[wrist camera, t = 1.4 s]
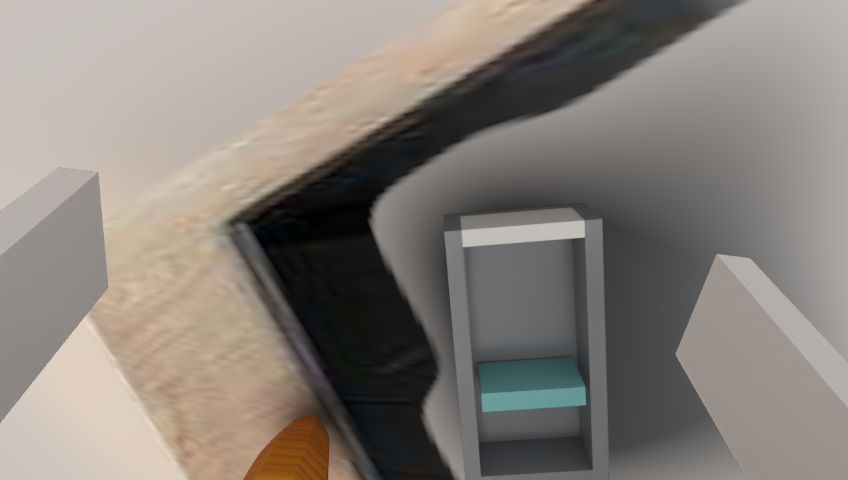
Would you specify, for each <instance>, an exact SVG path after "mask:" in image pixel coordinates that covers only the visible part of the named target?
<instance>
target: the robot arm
mask: <svg viewBox="0 0 848 480" xmlns="http://www.w3.org/2000/svg"><path fill="white" fill-rule="evenodd" d="M107 288H108V280H107V269H106V257H105V246H104V234H103V223H102V212H101V200H100V188H99V178H98V172H92V171H84V170H77V169H70V168H62V167H58V168H57V169H56V170H54V171H53V172H52V173H50V174H49V175H48V176H46V177H45V178H44V179H42V180H41V181H40V182H38V183H37V184H36V185H34V186H33V187H32V188H30V189H29V190H28V191H26V192H25V193H24V194H22V195H21V196H20V197H18V198H17V199H16V200H14V201H13V202H12V203H10V204H9V205H8V206H6V207H5V208H3V209H2V210H1V211H0V423H1V421H2V420H3V419H4V417H5V416H6V415H7V414H8V412H9V411H10V410H11V409H12V407H13V406H14V405H15V404H16V402H17V401H18V400H19V399H20V397H21V396H22V395H23V394H24V392H25V391H26V390H27V389H28V387H29V386H30V385H31V383H32V382H33V381H34V380H35V379H36V377H37V376H38V375H39V373H40V372H41V371H42V370H43V368H44V367H45V366H46V365H47V363H48V362H49V361H50V360H51V358H52V357H53V356H54V355H55V353H56V352H57V351H58V350H59V348H60V347H61V346H62V344H63V343H64V342H65V341H66V340H67V338H68V337H69V336H70V334H71V333H72V332H73V331H74V329H75V328H76V327H77V326H78V324H79V323H80V322H81V321H82V319H83V318H84V317H85V316H86V314H87V313H88V312H89V311H90V309H91V308H92V307H93V306H94V304H95V303H96V302H97V301H98V299H99V298H100V297H101V296H102V294H103V293H104V292H105V291H106V289H107ZM675 355H676V356H677V358H678V360H679V362H680V363H681V365H682V367H683V369H684V370H685V372H686V374H687V375H688V377H689V379H690V381H691V383H692V384H693V386H694V388H695V389H696V391H697V393H698V395H699V397H700V398H701V400H702V402H703V404H704V405H705V407H706V409H707V411H708V412H709V414H710V416H711V418H712V419H713V421H714V423H715V425H716V426H717V428H718V430H719V431H720V433H721V435H722V437H723V439H724V440H725V442H726V444H727V445H728V447H729V449H730V451H731V452H732V454H733V456H734V458H735V460H736V461H737V463H738V465H739V466H740V468H741V470H742V472H743V473H744V475H745V477H746V479H747V480H848V363H847V362H846V361H845V359H844V358H843V357H842V356H841V355H840V354H839V353H838V352H837V351H836V350H835V349H834V348H833V347H832V346H831V344H830V343H829V342H828V341H827V340H826V339H825V338H824V337H823V336H822V335H821V334H820V333H819V332H818V331H817V329H815V327H813V325H812V324H811V323H810V322H809V321H808V320H807V319H806V318H805V317H804V316H803V315H802V313H801V312H800V311H799V310H798V309H797V308H796V307H795V306H794V305H793V304H792V303H791V302H790V301H789V300H788V298H786V296H785V295H784V294H783V293H782V292H781V291H780V290H779V289H778V288H777V287H776V286H775V285H774V283H773V282H771V280H770V279H769V278H768V277H767V276H766V275H765V274H764V273H763V272H762V271H761V270H760V269H759V268H758V267H757V265H756V264H755V263H754V262H753V261H752V260H751V259H750V258H744V257H735V256H728V255H721V254H717V255H716V257H715V259H714V262H713V264H712V267H711V269H710V271H709V274H708V276H707V279H706V281H705V284H704V286H703V288H702V291H701V293H700V296H699V298H698V301H697V303H696V306H695V308H694V310H693V313H692V315H691V318H690V320H689V323H688V325H687V327H686V330H685V332H684V335H683V337H682V339H681V342H680V344H679V347H678V349H677V352H676V354H675Z"/></svg>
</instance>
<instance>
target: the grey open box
mask: <svg viewBox="0 0 848 480" xmlns="http://www.w3.org/2000/svg"><path fill="white" fill-rule="evenodd" d="M444 220H445V221H444V236H445V247H446V259H447V270H448V281H449V293H450V305H451V317H452V329H453V341H454V352H455V364H456V376H457V387H458V399H459V411H460V422H461V433H462V445H463V457H464V468H465V480H609V445H608V413H607V412H608V409H607V373H606V338H605V337H606V336H605V301H604V265H603V229H602V218H600V217H599V216H598V215H597V214H596V213H595V212H594V211H593V210H591V209H590V208H589V207H588V206H587V205H586V204H585V203H580V204H569V205H558V206H557V205H556V206H544V207H532V208H520V209H507V210H495V211H483V212H471V213H459V214H447V215H445V216H444ZM559 357H572V359H573V361H574V363H575V365H576V367H577V370H578V372H579V374H580V376H581V378H582V381H583V383H584V385H585V390H586V405H582V406H566V407H551V408H536V409H520V410H505V411H490V412H483V411H482V402H481V392H480V383H479V371H478V363H487V362H501V361H516V360H530V359H545V358H559Z"/></svg>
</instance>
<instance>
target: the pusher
mask: <svg viewBox="0 0 848 480" xmlns="http://www.w3.org/2000/svg"><path fill="white" fill-rule="evenodd" d="M478 371H479V383H480V392H481V402H482V411H483V412H490V411H505V410H520V409H536V408H551V407H566V406H582V405H586V390H585V385H584V383H583V381H582V378H581V376H580V374H579V372H578V370H577V367H576V365H575V363H574V361H573V359H572V357H559V358H545V359H530V360H516V361H501V362H487V363H478Z"/></svg>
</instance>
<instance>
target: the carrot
mask: <svg viewBox="0 0 848 480" xmlns="http://www.w3.org/2000/svg"><path fill="white" fill-rule="evenodd" d="M328 464H329V436H328V433H327V431H326V428H325V427H324V425H323V424H322V423H321V421H320V420H319V419H318V418H317V417H316V416H304V417H300V418H298V419H296V420H294V421H293V422H292V423H291V424H289V425H288V426H287V427H286V428H285V429H283V430H282V431H281V432H280V433H279V434H278V435H277V436H276V437H275V438H274V439H273V440H272V441H271V442H270V443H269V444H268V445H267V446H266V447H265V448H264V449H263V450H262V451H261V453H260V454H259V455H258V457H257V458H256V460H255V461H254V463H253V464H252V466H251V468H250V469H249V471H248V473H247V474H246V476H245V478H244V480H328Z"/></svg>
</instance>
